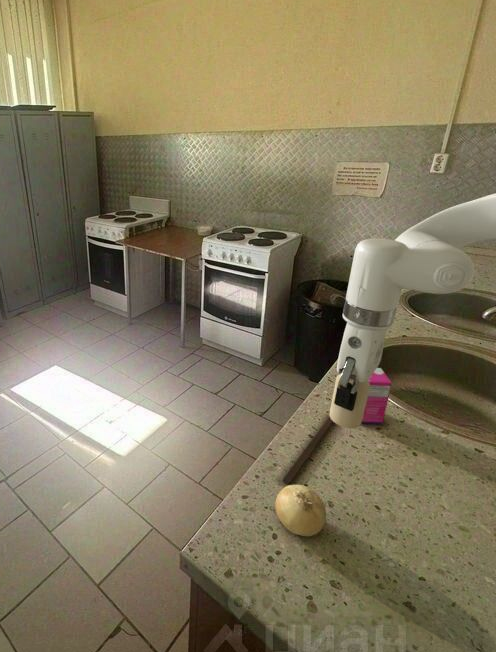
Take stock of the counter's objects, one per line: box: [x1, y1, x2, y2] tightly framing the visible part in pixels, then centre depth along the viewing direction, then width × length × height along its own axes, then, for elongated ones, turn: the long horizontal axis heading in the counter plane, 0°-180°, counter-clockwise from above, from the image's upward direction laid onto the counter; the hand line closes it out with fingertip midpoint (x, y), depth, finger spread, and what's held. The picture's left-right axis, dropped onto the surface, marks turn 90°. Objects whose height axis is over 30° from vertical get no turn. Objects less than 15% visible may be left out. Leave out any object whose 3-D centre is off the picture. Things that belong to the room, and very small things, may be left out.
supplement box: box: [361, 367, 393, 425], centre depth 89 cm, size 6×6×12 cm
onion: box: [274, 484, 327, 537], centre depth 66 cm, size 8×8×7 cm
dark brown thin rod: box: [282, 415, 334, 486], centre depth 83 cm, size 1×24×1 cm, turn 136°
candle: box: [329, 372, 370, 429], centre depth 74 cm, size 6×6×10 cm
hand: (349, 397), depth 74 cm, fingers closed on candle, 5 cm apart
